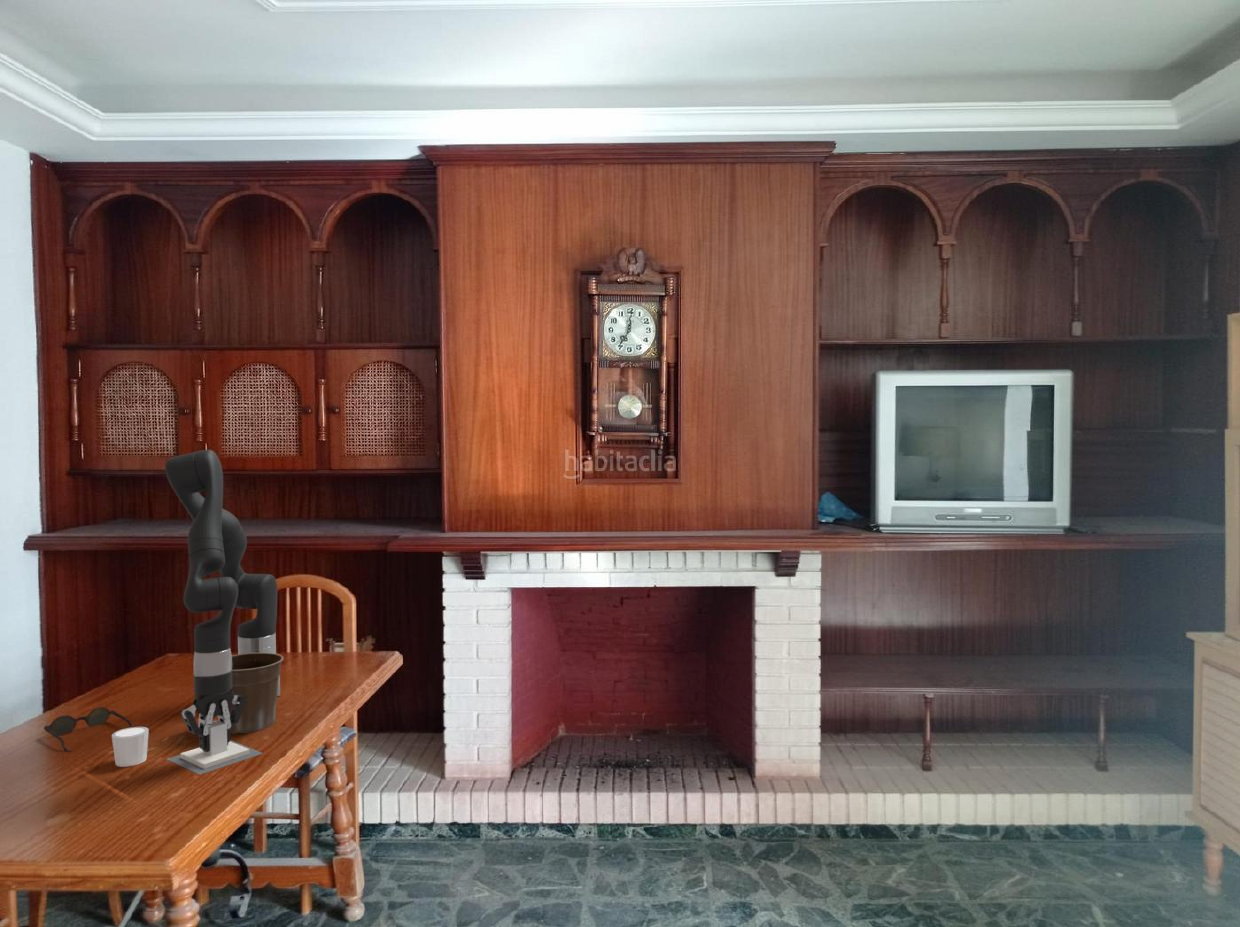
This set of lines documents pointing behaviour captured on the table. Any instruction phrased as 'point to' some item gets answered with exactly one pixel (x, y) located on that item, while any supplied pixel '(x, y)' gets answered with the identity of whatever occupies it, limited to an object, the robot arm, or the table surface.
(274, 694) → the plant pot
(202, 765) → the lid
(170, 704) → the table surface
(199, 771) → the mat
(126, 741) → the shot glass
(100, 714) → the eyeglasses
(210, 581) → the robot arm
